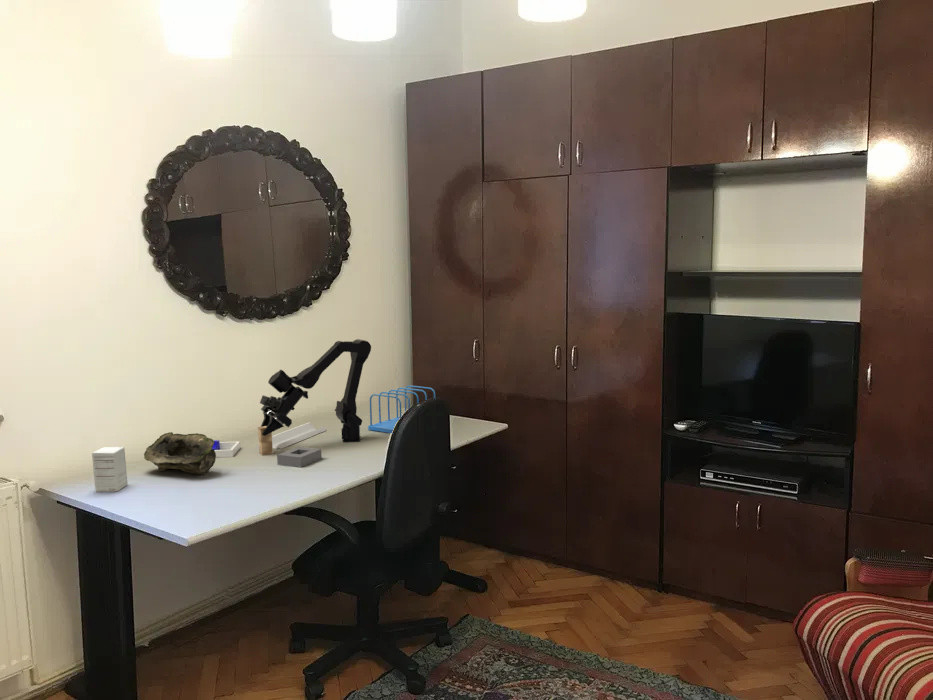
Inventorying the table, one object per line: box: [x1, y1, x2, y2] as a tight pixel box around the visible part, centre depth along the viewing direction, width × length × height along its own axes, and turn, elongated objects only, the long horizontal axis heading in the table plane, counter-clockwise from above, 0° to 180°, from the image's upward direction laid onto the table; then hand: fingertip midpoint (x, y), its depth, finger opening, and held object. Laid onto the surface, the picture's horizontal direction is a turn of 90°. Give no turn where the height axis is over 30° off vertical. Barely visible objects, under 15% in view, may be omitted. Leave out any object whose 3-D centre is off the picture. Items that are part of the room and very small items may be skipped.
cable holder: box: [212, 439, 221, 450], centre depth 294 cm, size 8×4×4 cm, turn 164°
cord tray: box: [214, 441, 241, 458], centre depth 294 cm, size 13×13×2 cm
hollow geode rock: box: [143, 431, 217, 476], centre depth 270 cm, size 28×13×15 cm
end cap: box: [276, 446, 323, 468], centre depth 279 cm, size 12×10×4 cm
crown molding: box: [255, 422, 327, 450], centre depth 314 cm, size 31×12×4 cm, turn 158°
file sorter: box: [367, 385, 436, 434], centre depth 329 cm, size 25×17×15 cm
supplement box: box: [91, 446, 129, 493], centre depth 252 cm, size 7×7×13 cm
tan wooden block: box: [257, 426, 274, 456], centre depth 290 cm, size 4×3×10 cm
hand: (261, 434), depth 289 cm, fingers open, 4 cm apart
